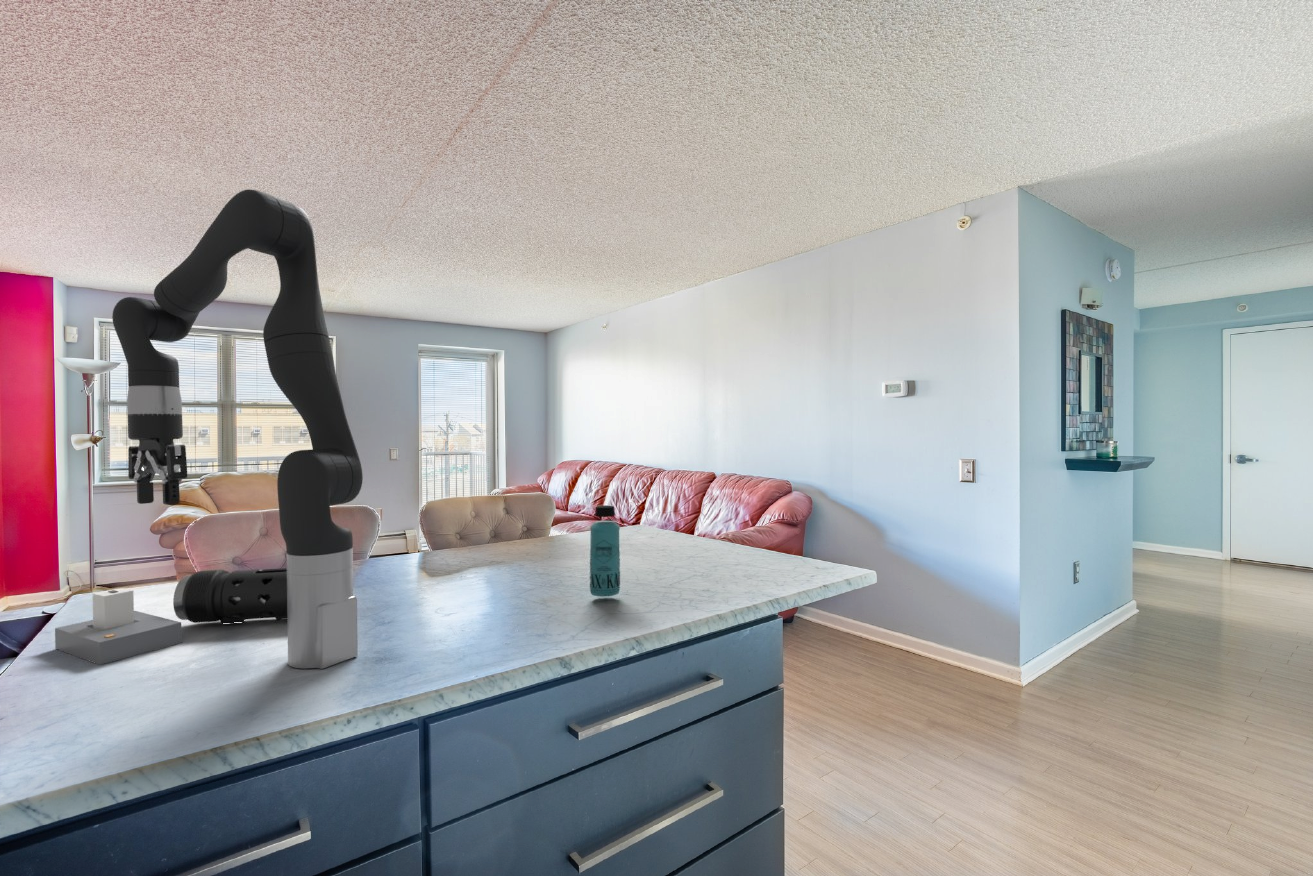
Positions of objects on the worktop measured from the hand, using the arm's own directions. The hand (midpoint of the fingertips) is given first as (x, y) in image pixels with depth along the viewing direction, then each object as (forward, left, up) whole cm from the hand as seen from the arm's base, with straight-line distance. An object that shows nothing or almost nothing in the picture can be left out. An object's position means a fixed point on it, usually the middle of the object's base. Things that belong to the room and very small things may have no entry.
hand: (158, 503), depth 108 cm
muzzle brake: (-9, -14, -24) cm, 29 cm away
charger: (+2, +6, -24) cm, 24 cm away
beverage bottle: (-60, -54, -24) cm, 84 cm away
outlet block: (0, +6, -24) cm, 24 cm away
